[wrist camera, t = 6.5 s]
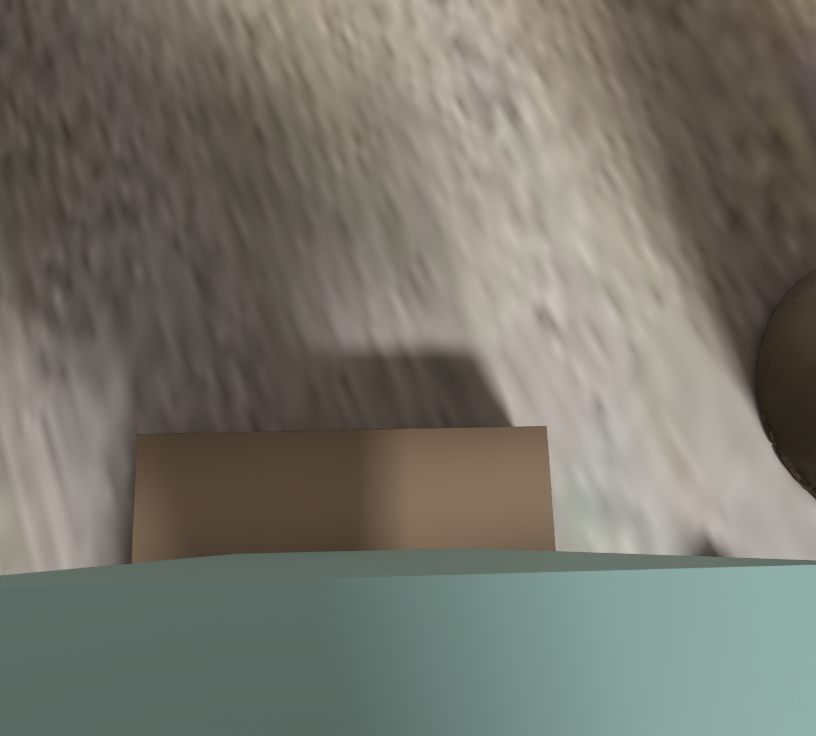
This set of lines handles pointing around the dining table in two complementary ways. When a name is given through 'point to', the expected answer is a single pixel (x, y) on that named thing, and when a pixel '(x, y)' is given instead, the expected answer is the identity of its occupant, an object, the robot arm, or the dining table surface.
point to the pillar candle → (792, 380)
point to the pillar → (412, 646)
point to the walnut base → (341, 491)
